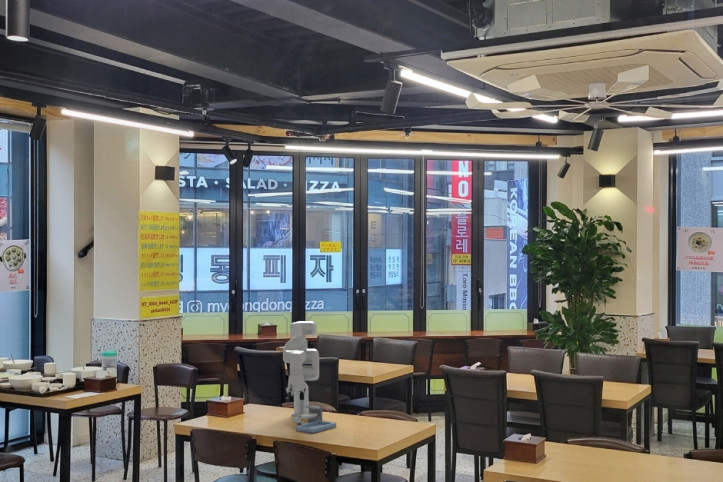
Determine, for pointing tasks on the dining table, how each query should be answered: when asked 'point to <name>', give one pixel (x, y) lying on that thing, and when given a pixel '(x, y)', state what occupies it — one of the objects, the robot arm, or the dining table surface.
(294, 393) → the robot arm
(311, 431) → the tray
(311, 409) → the printer bay
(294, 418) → the caddy
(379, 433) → the dining table surface
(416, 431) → the dining table surface
